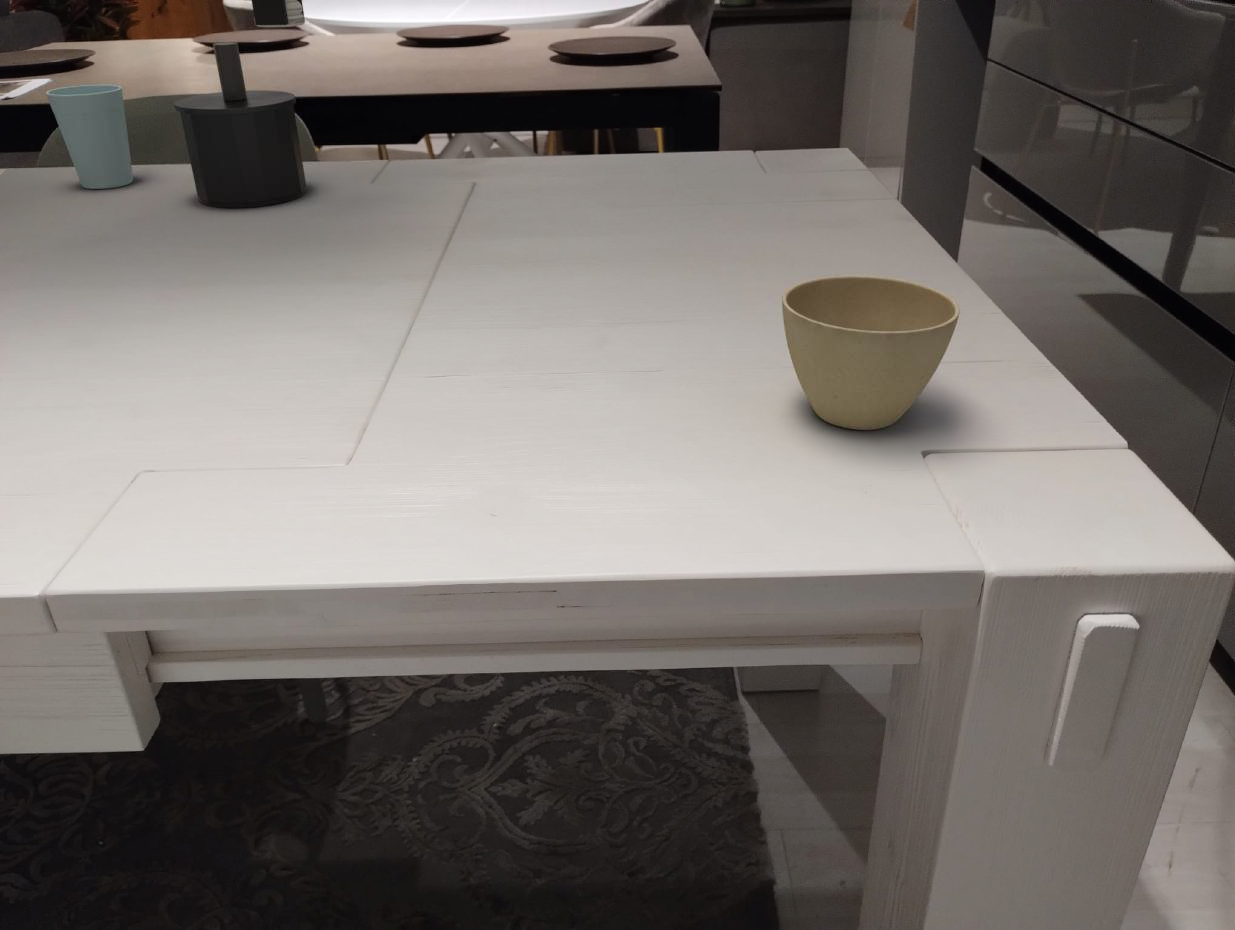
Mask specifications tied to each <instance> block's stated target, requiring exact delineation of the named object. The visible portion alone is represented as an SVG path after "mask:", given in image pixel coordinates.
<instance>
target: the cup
mask: <svg viewBox="0 0 1235 930" xmlns="http://www.w3.org/2000/svg"><path fill="white" fill-rule="evenodd" d="M45 95H46V97H47V100H48V103H49V106H50V108H51V110H52V112H53V114H54V117H55V119H56V120H55V121H56V122H57V125H58V127H59V130H60V133H61V136H62V138H63V140H64V143H65V146H66V148H67V151H68V153H69V156H70V159H71V162H72V164H73V166H74V169H75V172H76V175H77V178H78V180H79V183H80V185H81V186H82V188H85V189H90V190H105V189H106V190H107V189H113V188H119V187H125V186H127V185H130V184H132V183H133V182H134V177H133V169H132V159H131V152H130V145H129V144H130V143H129V137H128V128H127V121H126V112H125V104H124V103H125V102H124V96H123V88H122V86H120V85H117V84H83V85H71V86H63V87H58V88H54V89H50V90H47V91H46V92H45Z"/></svg>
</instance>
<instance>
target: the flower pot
mask: <svg viewBox="0 0 1235 930" xmlns="http://www.w3.org/2000/svg"><path fill="white" fill-rule="evenodd" d="M781 307H782V308H781V309H782V319H783V327H784V333H785V339H786V344H787V349H788V352H789V356H790V360H791V363H792V366H793V370H794V372H795V374H796V377H797V379H798V382H799V384H800V387H801V388H802V390H803V392H804V394H805V396H806V399H807V400H808V402H809V404H810V405H811V407H812V409H813V411H814V412H815V414H816V415H817V416H818V418H820V419H822V420H823V421H825V422H826V423H829V424H831V425H834V426H837V427H840V428H844V429H849V430H856V431H857V430H858V431H859V430H861V431H871V430H873V431H874V430H880V429H885V428H888V427H889V426H891V425H893V424H895V423H896V422H897V421H898V420H899V419H900V418H901V417H902V416H904V414H905V413H906V412H907V411H908V410H909V409H910V408H911V406H912V405H913V404H914V403H915V402H916V401H917V399H918V398H919V397H920V395H921V394H922V392H923V391H924V390H925V388H926V387H927V385H928V384H929V382H930V381H931V380H932V378H933V377H934V375H935V373H936V371H937V370H938V368H939V366H940V365H941V362H942V360H943V358H944V356H945V354H946V352H947V350H948V348H949V346H950V343H951V340H952V338H953V336H954V332H955V330H956V326H957V324H958V320H959V317H960V313H961V309H960V306H959V305H958V302H956V301H955V300H954V299H953V297H950V295H948V294H946V293H944V292H943V291H941V290H939V289H936V288H933V287H931V286H928V285H925V284H922V283H919V282H914V281H911V280H905V279H901V278H895V277H887V276H878V275H877V276H876V275H855V274H854V275H853V274H852V275H849V274H848V275H835V276H834V275H832V276H823V277H816V278H812V279H807V280H804V281H801V282H798V283H796V284H794V285H791V286H790V287H788V288H787V289H786V290H785V291H784V293H783V295H782V296H781Z"/></svg>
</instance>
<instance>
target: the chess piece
mask: <svg viewBox="0 0 1235 930" xmlns="http://www.w3.org/2000/svg"><path fill="white" fill-rule="evenodd" d="M285 3H286V10H287V16H288V23H289V24H287V25H256V24H255V23H254V25H255V26H256V27H259V28H290V27H299V26H303V25H305V23H306V20H305V18H306V17H305V14H304V15H303V14H301V12H302V10H303V11H304V8H303V9H302V5H303V4H302V5H301V4H300V3H299V2H298V1H297V0H285ZM253 20H254V22H255V18H254V17H253Z"/></svg>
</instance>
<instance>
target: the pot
mask: <svg viewBox="0 0 1235 930" xmlns="http://www.w3.org/2000/svg"><path fill="white" fill-rule="evenodd" d="M179 115H180V119H181V124H182V128H183V133H184V137H185V138H184V139H185V143H186V148H187V152H188V156H189V162H190V167H191V171H192V176H193V181H194V186H195V191H196V194H197V200H198V202H199V203H200V204H202V205H204V206H208V207H212V208H220V209H221V208H222V209H246V208H247V209H248V208H249V209H250V208H260V207H268V206H274V205H278V204H283V203H287V202H291V201H294V200H297V199H299V198H301V197H302V196H304V195H305V194H306V192H307V183H306V176H305V175H306V174H305V169H304V163H303V157H302V150H301V143H300V137H299V131H298V124H297V119H296V113H295V107H294V104H293V105H291V106H288V107H285V108H281V109H277V110H272V111H265V112H258V113H249V114H236V115H192V114H185V113H180V112H179Z"/></svg>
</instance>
